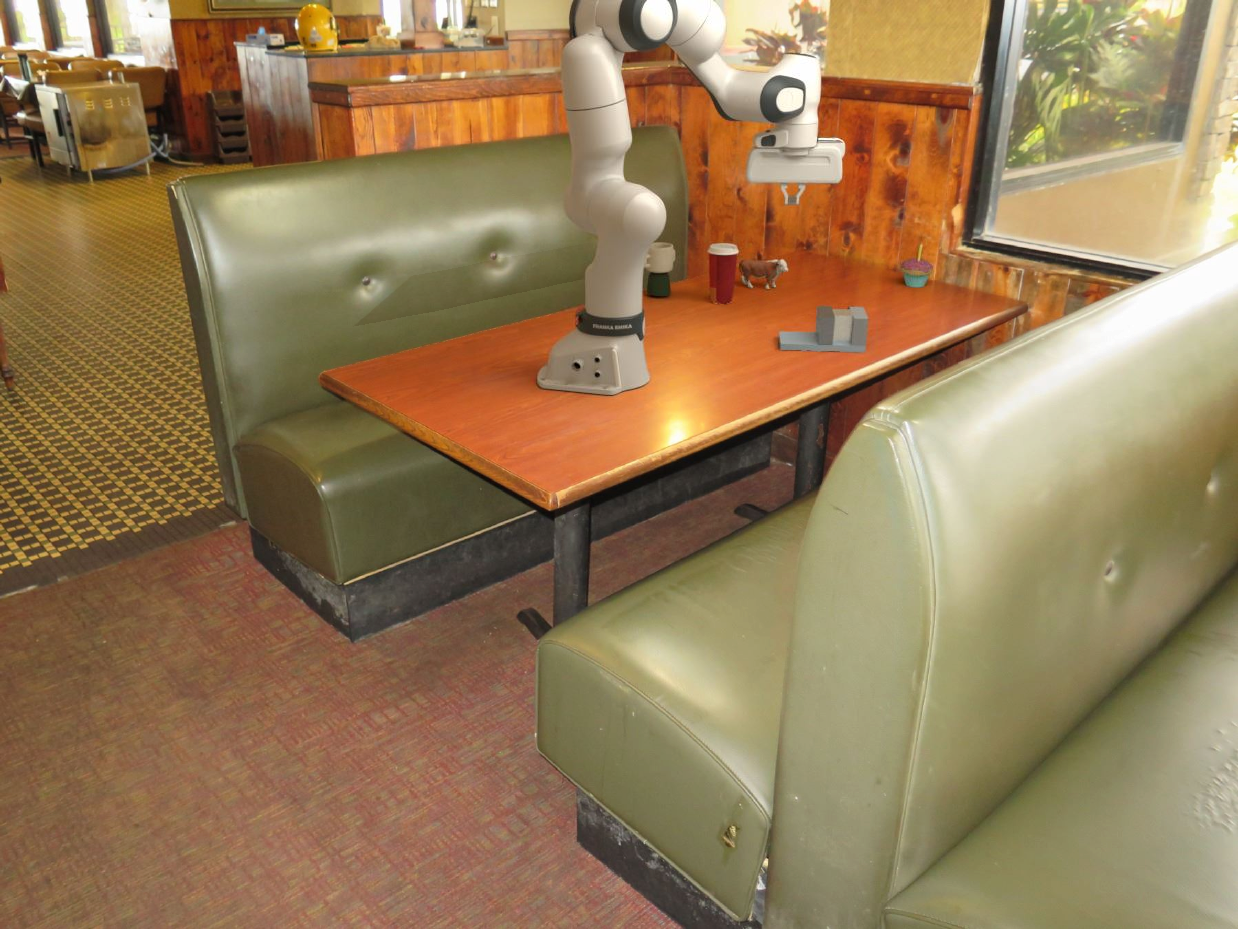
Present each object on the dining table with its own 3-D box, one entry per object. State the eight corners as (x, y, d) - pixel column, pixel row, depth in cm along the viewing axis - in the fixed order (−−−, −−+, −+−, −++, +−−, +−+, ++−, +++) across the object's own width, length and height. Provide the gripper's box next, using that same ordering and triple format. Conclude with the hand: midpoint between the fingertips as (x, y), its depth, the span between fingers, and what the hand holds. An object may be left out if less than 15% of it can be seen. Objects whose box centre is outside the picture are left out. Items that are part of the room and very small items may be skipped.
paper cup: (741, 300, 253) (744, 244, 247) (728, 307, 247) (730, 250, 241) (714, 295, 257) (716, 241, 251) (700, 302, 251) (701, 247, 245)
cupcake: (934, 289, 261) (940, 243, 256) (902, 289, 261) (907, 243, 256) (926, 281, 269) (931, 236, 264) (894, 281, 269) (899, 236, 264)
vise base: (780, 350, 216) (782, 316, 213) (776, 327, 232) (778, 295, 228) (865, 352, 215) (868, 318, 212) (855, 329, 230) (859, 297, 227)
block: (831, 342, 216) (834, 315, 214) (829, 335, 221) (831, 308, 218) (850, 342, 216) (853, 315, 214) (848, 335, 221) (850, 309, 218)
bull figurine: (785, 292, 259) (787, 261, 256) (736, 287, 264) (737, 256, 261) (790, 288, 263) (792, 257, 259) (741, 283, 268) (743, 253, 264)
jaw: (818, 344, 215) (820, 317, 212) (815, 331, 223) (817, 305, 221) (832, 344, 215) (835, 317, 212) (828, 332, 223) (831, 305, 220)
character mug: (664, 289, 263) (665, 239, 257) (683, 294, 258) (684, 244, 252) (633, 296, 256) (633, 246, 251) (652, 302, 251) (652, 250, 246)
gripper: (844, 135, 210) (838, 201, 216) (746, 134, 212) (743, 201, 217) (848, 138, 205) (842, 207, 210) (748, 138, 206) (744, 206, 212)
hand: (791, 204), depth 214 cm, fingers closed
